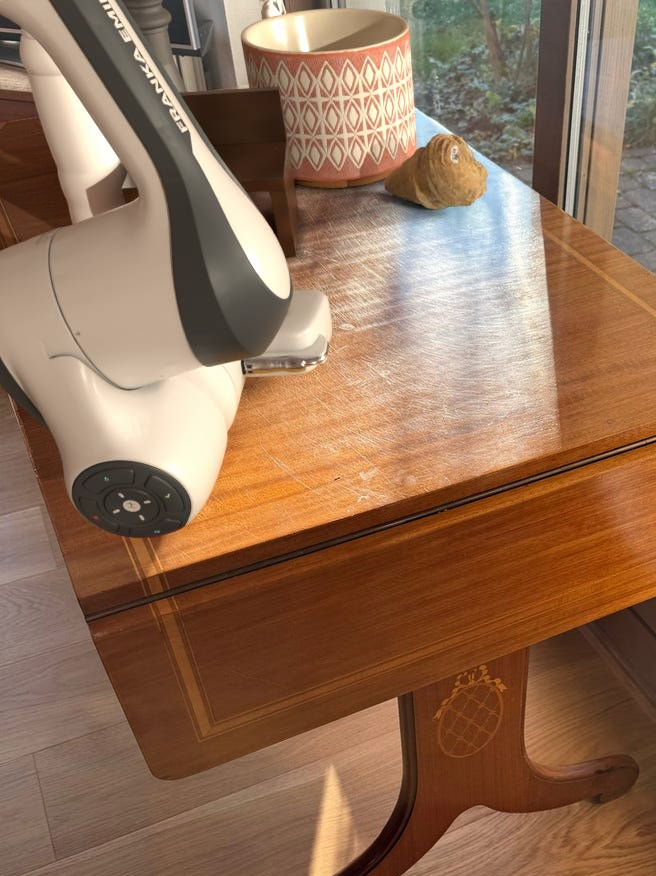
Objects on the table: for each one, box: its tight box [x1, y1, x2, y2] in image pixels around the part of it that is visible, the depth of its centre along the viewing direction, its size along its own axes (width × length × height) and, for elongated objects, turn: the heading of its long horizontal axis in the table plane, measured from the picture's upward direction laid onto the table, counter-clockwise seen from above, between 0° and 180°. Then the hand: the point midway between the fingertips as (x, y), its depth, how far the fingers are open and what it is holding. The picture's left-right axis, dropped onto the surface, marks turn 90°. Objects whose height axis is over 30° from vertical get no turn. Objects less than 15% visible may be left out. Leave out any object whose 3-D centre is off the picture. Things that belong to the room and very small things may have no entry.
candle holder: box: [122, 0, 188, 92], centre depth 106 cm, size 6×6×25 cm
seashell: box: [383, 132, 489, 211], centre depth 110 cm, size 14×8×8 cm
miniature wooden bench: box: [122, 86, 300, 258], centre depth 103 cm, size 16×12×13 cm
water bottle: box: [19, 27, 128, 225], centre depth 100 cm, size 7×7×25 cm
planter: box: [240, 7, 418, 189], centre depth 117 cm, size 19×19×15 cm
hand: (213, 285), depth 80 cm, fingers closed on wooden figurine, 5 cm apart
